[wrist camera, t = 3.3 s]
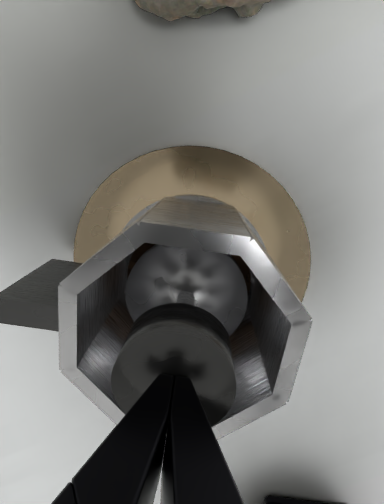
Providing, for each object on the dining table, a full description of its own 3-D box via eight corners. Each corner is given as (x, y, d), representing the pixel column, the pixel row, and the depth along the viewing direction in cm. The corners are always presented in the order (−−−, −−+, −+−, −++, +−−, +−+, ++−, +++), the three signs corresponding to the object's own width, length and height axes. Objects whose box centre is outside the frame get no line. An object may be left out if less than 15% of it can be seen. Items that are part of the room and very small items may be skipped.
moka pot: (338, 165, 14) (458, 170, 7) (279, 378, 18) (321, 506, 11) (74, 128, 14) (-45, 101, 7) (73, 349, 18) (-3, 460, 11)
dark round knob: (256, 246, 12) (296, 313, 7) (234, 351, 14) (252, 471, 9) (132, 228, 12) (74, 282, 7) (125, 335, 14) (74, 446, 9)
